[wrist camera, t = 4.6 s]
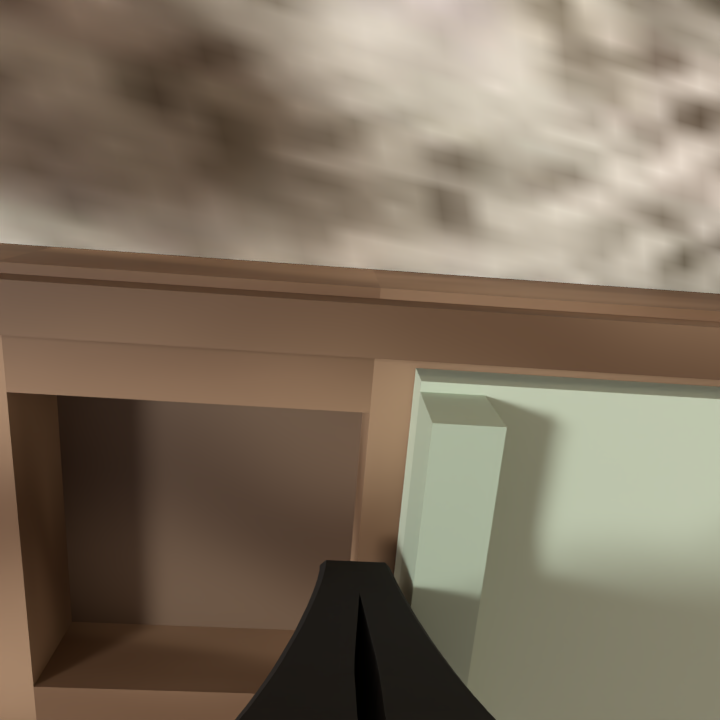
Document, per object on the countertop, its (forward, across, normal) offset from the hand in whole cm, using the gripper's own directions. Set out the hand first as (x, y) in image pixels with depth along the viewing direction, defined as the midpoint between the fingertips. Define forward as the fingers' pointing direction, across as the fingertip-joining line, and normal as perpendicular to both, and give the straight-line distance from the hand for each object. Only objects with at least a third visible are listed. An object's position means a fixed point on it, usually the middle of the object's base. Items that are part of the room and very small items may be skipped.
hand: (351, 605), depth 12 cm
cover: (+1, -5, 0) cm, 5 cm away
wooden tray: (+4, -1, 0) cm, 4 cm away
